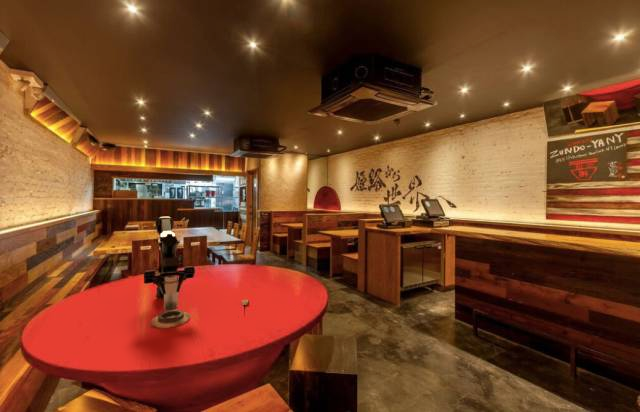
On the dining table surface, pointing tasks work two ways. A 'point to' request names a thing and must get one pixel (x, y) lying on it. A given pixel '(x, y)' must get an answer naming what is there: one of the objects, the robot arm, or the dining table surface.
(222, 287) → the dining table surface
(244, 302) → the fork
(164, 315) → the collar board
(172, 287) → the grey lidded canister
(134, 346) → the dining table surface
